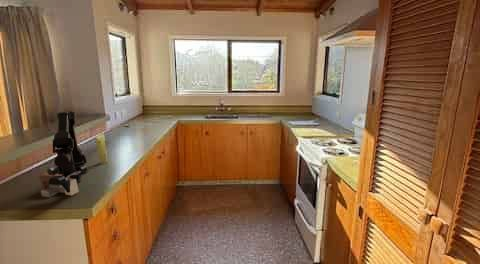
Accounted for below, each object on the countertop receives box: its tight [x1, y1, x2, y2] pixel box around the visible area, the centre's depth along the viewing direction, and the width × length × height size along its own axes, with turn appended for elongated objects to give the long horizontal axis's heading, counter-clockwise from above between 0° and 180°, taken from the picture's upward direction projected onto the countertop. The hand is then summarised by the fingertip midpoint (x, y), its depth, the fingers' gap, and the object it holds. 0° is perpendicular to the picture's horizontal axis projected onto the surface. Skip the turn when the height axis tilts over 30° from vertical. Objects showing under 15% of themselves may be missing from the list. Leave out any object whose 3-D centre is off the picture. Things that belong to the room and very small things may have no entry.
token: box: [40, 186, 60, 198], centre depth 133 cm, size 5×5×3 cm
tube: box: [94, 133, 109, 164], centre depth 177 cm, size 6×5×20 cm
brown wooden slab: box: [39, 166, 83, 190], centre depth 143 cm, size 14×12×8 cm
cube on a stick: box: [49, 178, 79, 196], centre depth 134 cm, size 4×16×7 cm, turn 73°
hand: (71, 190), depth 133 cm, fingers closed on cube on a stick, 4 cm apart
